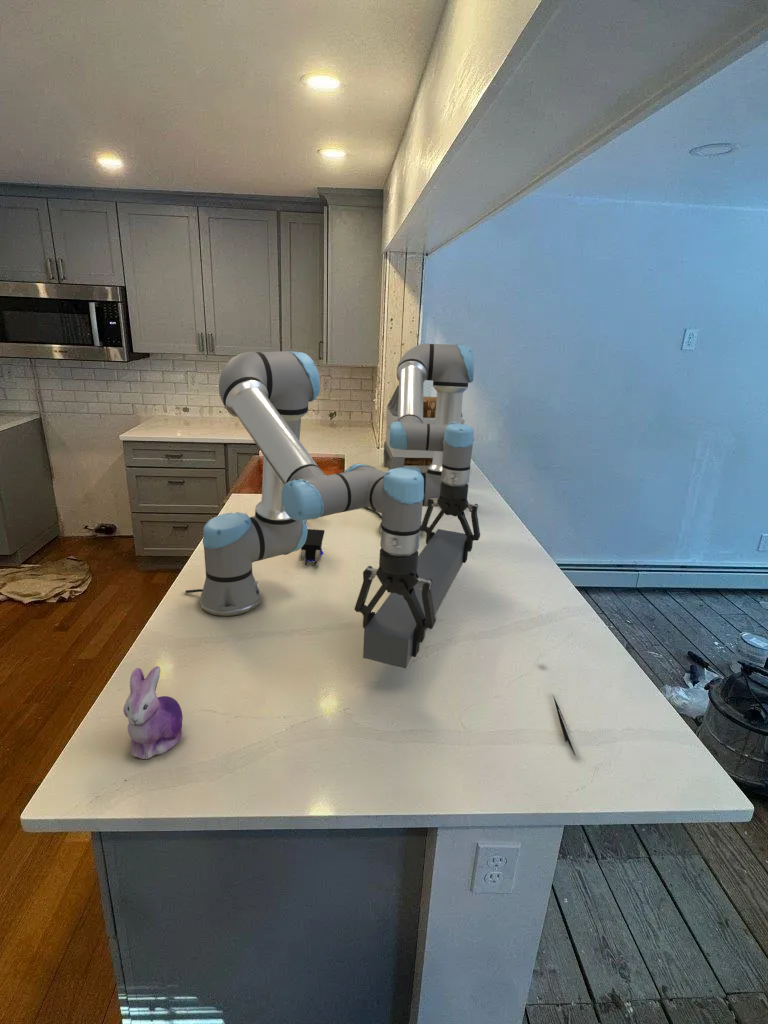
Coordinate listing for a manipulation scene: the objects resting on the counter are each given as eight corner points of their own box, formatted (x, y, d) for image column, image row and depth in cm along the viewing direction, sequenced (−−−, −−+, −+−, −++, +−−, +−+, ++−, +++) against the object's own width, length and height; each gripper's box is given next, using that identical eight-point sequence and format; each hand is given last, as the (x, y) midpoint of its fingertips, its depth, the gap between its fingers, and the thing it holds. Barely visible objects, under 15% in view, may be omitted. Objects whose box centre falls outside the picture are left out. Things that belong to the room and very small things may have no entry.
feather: (542, 671, 128) (548, 665, 128) (575, 760, 102) (582, 753, 101) (536, 667, 128) (542, 661, 128) (567, 755, 102) (574, 748, 101)
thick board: (436, 550, 167) (438, 528, 165) (466, 555, 164) (469, 534, 162) (362, 658, 114) (364, 629, 112) (406, 669, 112) (408, 639, 109)
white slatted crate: (382, 463, 289) (386, 382, 275) (445, 464, 293) (451, 384, 279) (390, 482, 257) (394, 392, 243) (460, 483, 261) (468, 394, 247)
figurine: (131, 770, 95) (121, 695, 90) (126, 731, 103) (116, 661, 98) (190, 752, 99) (183, 680, 94) (180, 716, 108) (173, 648, 102)
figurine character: (321, 573, 171) (325, 548, 184) (321, 551, 168) (325, 527, 181) (299, 572, 171) (304, 547, 184) (298, 550, 167) (304, 526, 181)
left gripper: (339, 545, 109) (336, 644, 117) (450, 568, 103) (439, 671, 111) (354, 532, 116) (350, 626, 124) (459, 552, 110) (448, 650, 118)
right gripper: (411, 480, 153) (406, 555, 161) (493, 492, 146) (483, 570, 154) (419, 473, 159) (414, 545, 167) (497, 484, 153) (488, 559, 161)
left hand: (392, 647), depth 117 cm, fingers closed on thick board, 9 cm apart
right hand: (447, 557), depth 161 cm, fingers closed on thick board, 9 cm apart
